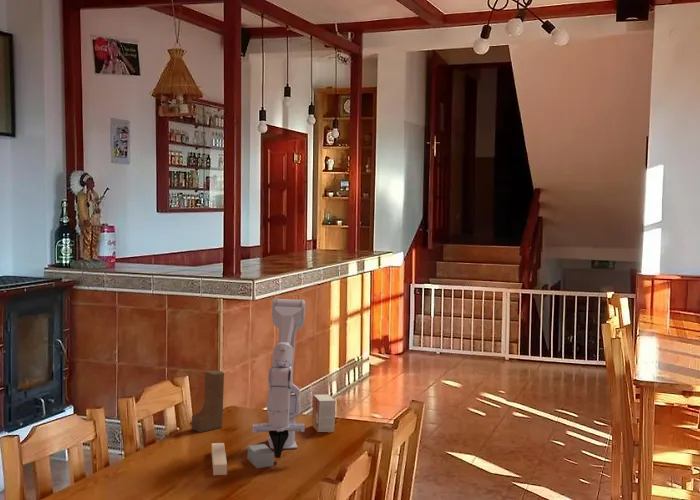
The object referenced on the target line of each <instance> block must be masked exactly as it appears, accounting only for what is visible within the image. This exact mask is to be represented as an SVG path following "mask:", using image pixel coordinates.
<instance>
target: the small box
mask: <svg viewBox="0 0 700 500" xmlns="http://www.w3.org/2000/svg"><path fill="white" fill-rule="evenodd" d="M312 395H313V397H312V413H311V426H312V427H313V428H314V430H315V431H316V432H317V433H318V432H328V433H334V432H335V423H336V420H335V419H336V405H337V401H336V400H335V399H334V398H333V397H332V395H330V394H328V393H327V394H312Z"/></svg>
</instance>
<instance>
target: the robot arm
mask: <svg viewBox="0 0 700 500" xmlns="http://www.w3.org/2000/svg"><path fill="white" fill-rule="evenodd" d="M271 317H272V323H273V325H274V327H277V328H278V342H277V344H276V345H274V347H273V352H272V359H271V360H272V361H271V368H269V370H268V377H267V380H268V381H267V383H268V395H267V400H266V412H267V413H268V422H263V423H253V424H252V429H251V431H252V434H257V433H268V435H269V437H267V442H268V444H269V448H270V449H271V450H273V452H274V459H281V456H282V452H283V450H284V449H297V448H298V445H297V442H296V440H295V439H296V432H301V433H305V428H306V427H305V424H304V423H302V422H301V423H300V422H296V417H297V416H299V415H300V414H301V404H302V396H301V395H302V394H301V393H302V392H301V389H300V388H299V387H298V386H297V385H295V384H294V382H293V379H294V378H293V377H294V363H295V347H296V346H295V345H296V335H297V333H298V330H300V329H301V328H303V327H304V324H305V317H306V301H305V299H291V298H290V299H287V298H277V297H275V298H274V299H273V300H272V305H271Z"/></svg>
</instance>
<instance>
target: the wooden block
mask: <svg viewBox="0 0 700 500" xmlns="http://www.w3.org/2000/svg"><path fill="white" fill-rule="evenodd" d="M224 384H225V373H224V372H223V371H220V370H216V369H215V370H207V371H205V372H204V394H203V395H204V396H203V397H204V401H203V404H202V409H201V410H200V411H199V412H198V413H196V414H193V415H191V430H192V431H196V432H197V433H202V432H207V431H208V432H209V431H211V430H218V429H220V428H223V422H224V421H223V417H224V388H225V387H224V386H225V385H224Z"/></svg>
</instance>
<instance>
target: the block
mask: <svg viewBox="0 0 700 500" xmlns="http://www.w3.org/2000/svg"><path fill="white" fill-rule="evenodd" d="M246 458H247V461H249V462H250V464H252V465H253V466H254V467H255V468H256V469H260V468H267V467H275V466H274V465H275V453H274V450H273V449H271V448H270V447H269V446H267V445H266V444H265V443H262V444H261V443H260V444H251V445H247V457H246Z"/></svg>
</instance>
